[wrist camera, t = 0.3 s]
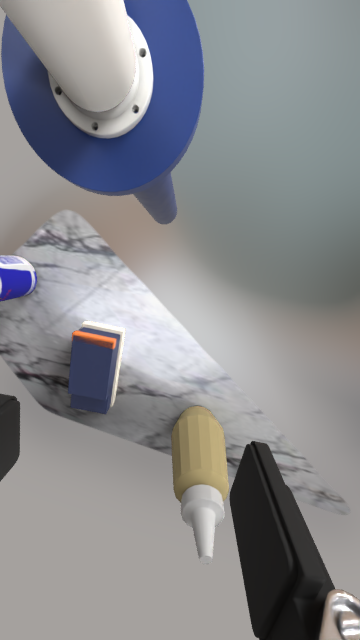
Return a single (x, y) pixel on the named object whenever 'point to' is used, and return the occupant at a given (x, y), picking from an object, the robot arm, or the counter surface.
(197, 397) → the counter surface
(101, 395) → the blue orange block
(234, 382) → the counter surface
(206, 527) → the squeeze bottle
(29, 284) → the beverage can
